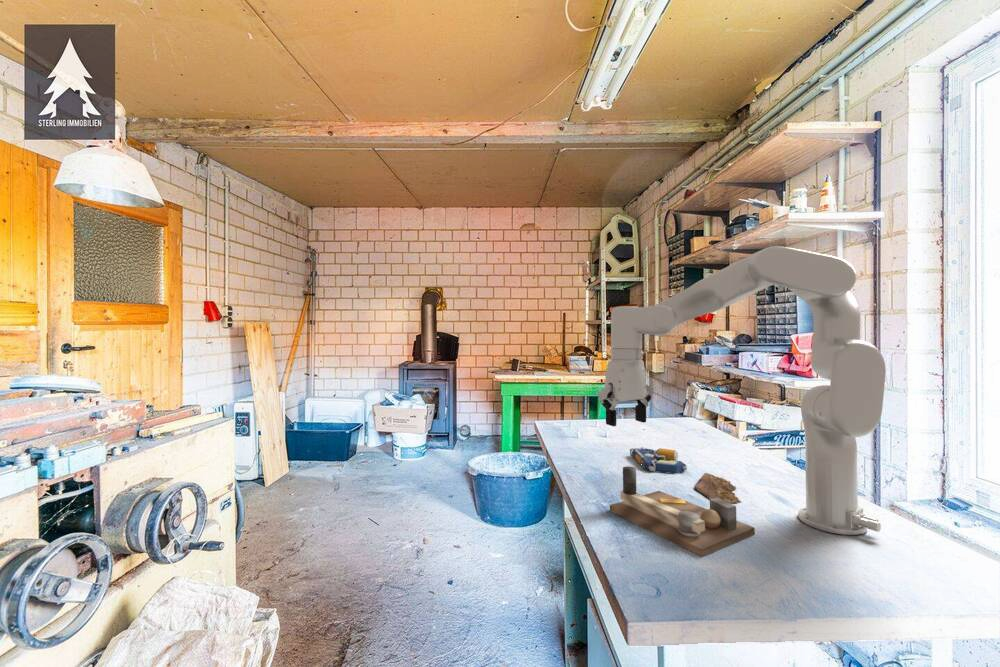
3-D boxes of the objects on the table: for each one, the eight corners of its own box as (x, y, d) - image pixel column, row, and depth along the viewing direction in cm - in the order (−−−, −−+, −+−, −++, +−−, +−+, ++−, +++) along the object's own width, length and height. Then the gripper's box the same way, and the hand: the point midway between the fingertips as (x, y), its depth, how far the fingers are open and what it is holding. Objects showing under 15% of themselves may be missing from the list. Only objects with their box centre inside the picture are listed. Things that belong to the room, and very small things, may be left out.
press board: (754, 534, 96) (754, 504, 96) (702, 556, 87) (701, 524, 87) (659, 496, 119) (658, 472, 119) (609, 510, 110) (609, 485, 110)
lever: (707, 531, 93) (706, 492, 93) (695, 536, 91) (694, 495, 91) (629, 498, 112) (629, 465, 112) (618, 501, 110) (617, 467, 110)
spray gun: (670, 455, 157) (628, 456, 157) (670, 443, 157) (628, 444, 157) (696, 476, 136) (648, 477, 136) (696, 462, 136) (647, 464, 136)
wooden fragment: (743, 509, 110) (743, 505, 110) (695, 504, 114) (695, 500, 114) (730, 476, 134) (730, 473, 134) (691, 473, 138) (691, 469, 138)
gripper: (641, 353, 117) (641, 417, 117) (589, 355, 109) (589, 423, 110) (663, 355, 110) (662, 422, 111) (609, 357, 103) (609, 430, 103)
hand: (626, 423), depth 110 cm, fingers open, 9 cm apart
